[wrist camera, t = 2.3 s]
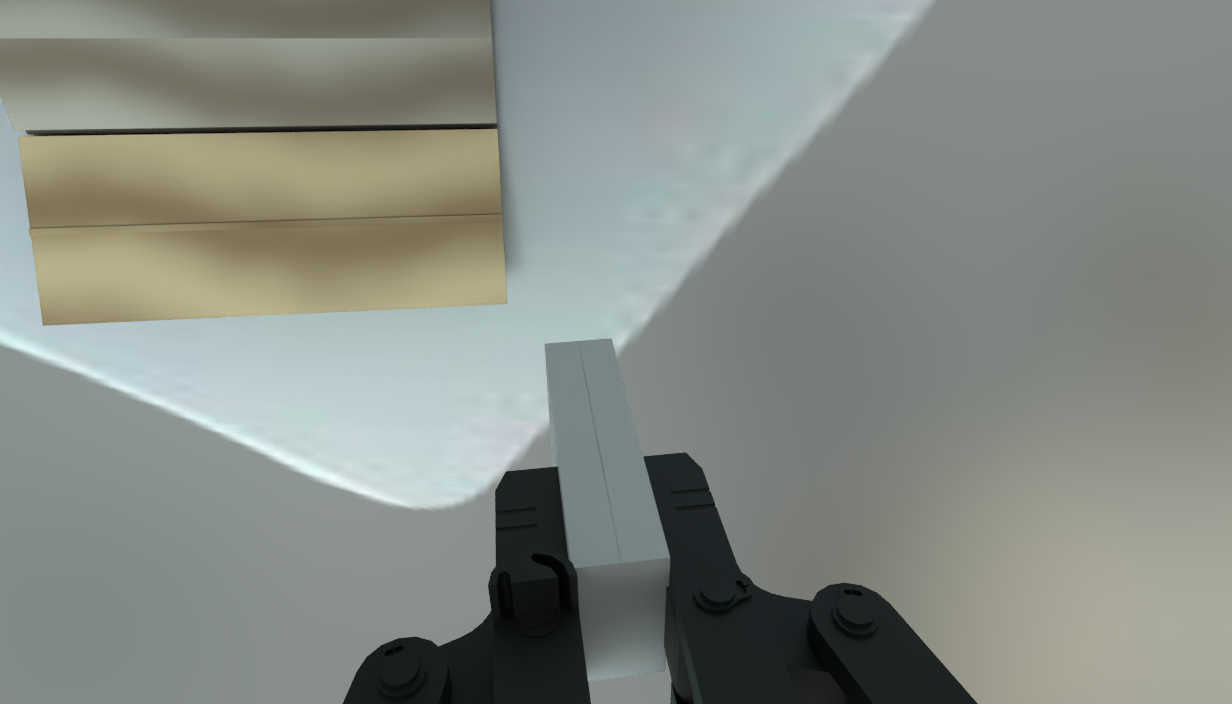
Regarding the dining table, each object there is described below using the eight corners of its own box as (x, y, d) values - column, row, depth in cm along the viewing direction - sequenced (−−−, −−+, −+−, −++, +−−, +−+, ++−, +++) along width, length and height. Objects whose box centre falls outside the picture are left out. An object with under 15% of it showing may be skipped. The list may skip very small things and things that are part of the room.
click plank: (35, 141, 33) (16, 136, 32) (497, 133, 36) (497, 128, 34) (59, 323, 34) (41, 325, 33) (507, 302, 37) (507, 304, 35)
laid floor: (-45, -68, 29) (-64, -67, 28) (486, -59, 32) (486, -57, 30) (31, 131, 33) (17, 139, 32) (497, 124, 36) (497, 131, 34)
